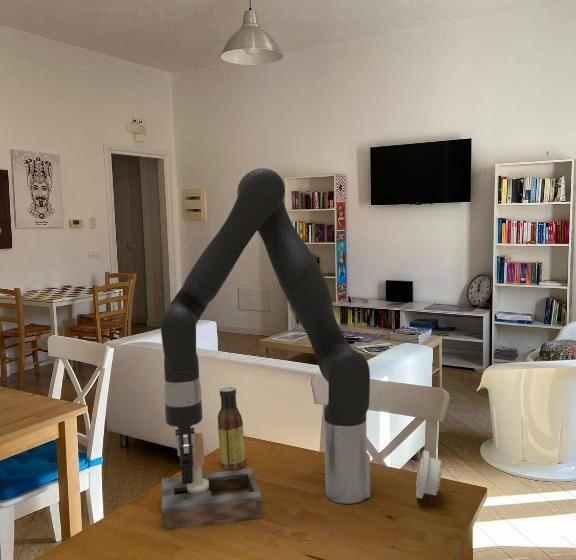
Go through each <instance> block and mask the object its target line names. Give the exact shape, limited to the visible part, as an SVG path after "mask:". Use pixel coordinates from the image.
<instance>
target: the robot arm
mask: <svg viewBox="0 0 576 560" xmlns="http://www.w3.org/2000/svg"><path fill="white" fill-rule="evenodd" d="M236 194H237V197H236V200H235V201H234V202H235V203H234V204H233V207H232V209H231V211H230V213H229V214H228V215H227V218H226V220H225V221H224V222H223V224H222V226H221V228H220V229H218V230H219V231H218V232H216V234H215V236H213V239H211V241H210V242H209V243H208V244H207V246H206V247H205V249H204V250H203V252H202V253H201V254H200V256H199V257H198V258H197V260H196V262H195V264H194V265H193V267H192V269H191V270H190V271H189V273H188V274H187V277H185V280H184V282H183V285H182V286H181V288H180V289H179V291H178V292H177V293H176V295H175V296H174V297H173V299H172V301H171V302H170V304H168V306H167V308H166V309H165V310H164V312H163V314H162V316H161V320H160V335H161V336H160V337H161V342H162V344H161V345H162V351H163V356H164V357H163V358H164V359H163V361H164V362H163V367H164V368H163V370H164V388H163V390H164V391H163V393H164V409H165V410H164V412H165V423H166V424H167V425H168V426H169V427H172V428H176V429H174V430H175V442H176V447H177V456H178V457H179V459H180V463H179V466H180V468H181V469H180V470H181V476H182V483H183V484H191V483H193V471H192V467H193V465H194V462H193V455H194V453H195V451H194V440H195V434H196V432H195V427H192V426H194V425H195V426H196V425H198V424H200V423H201V422H202V421H203V406H202V405H203V404H202V401H203V399H202V387H201V386H202V385H201V380H200V369H199V367H200V365H199V356H198V353H197V324H198V323H199V320H200V319H201V317H202V316H203V314H204V311H205V310H206V309H207V307H208V305H209V304H210V302H213V300H214V299H215V298H216V296H217V294H218V293H219V292H220V290H221V288H222V286H223V285H224V283H225V281H226V280H227V278H228V277H229V275H230V273H231V272H232V270H233V269H234V267H235V265H236V263H237V262H238V260H239V258H240V256H241V255H242V254H243V252H244V251H245V249H246V247H247V245H248V244H249V242H250V241H251V239H252V238H253V237H254V236H255V234H256V233H259V236H260V237H261V238H260V239H261V240H262V242H263V244H264V247H265V250H266V252H267V256H268V259H269V261H270V263H271V266H272V269H273V271H274V274H275V276H276V278H277V281H278V283H279V285H280V287H281V289H282V292H283V293H284V295H285V298H286V300H287V302H288V304H289V305H290V307H291V309H292V311H293V313H294V314H295V316H296V318H297V320H298V322H299V323H300V325H301V327H302V329H303V330H304V332H305V333H306V335H307V338H308V340H309V342H310V345H311V348H312V350H313V353H314V357H315V359H316V362H317V365H318V369H319V370H320V374H321V375H322V377H323V378H324V379H325V381H326V382H327V384H328V403H327V404H326V405H325V407H324V411H323V414H324V415H323V417H324V418H323V422H324V424H323V425H324V469H325V472H324V473H325V479H324V480H325V481H324V482H325V483H324V484H325V486H324V487H325V496H326V497H327V498H328V499H329V500H330V501H332V502H335V503H339V504H348V505H349V504H351V505H352V504H357V503H360V502H362V501H364V500H366V499H368V498H369V499H370V498H371V456H370V454H369V453H368V449H367V447H368V445H367V444H368V443H367V437H368V436H367V413H368V411H369V407H370V393H371V392H370V391H371V390H370V388H371V372H370V366H369V362H368V360H367V359H366V357H365V356H364V355H363V354H362V353H361V352H359V351H357V350H355V349H354V348H353V347H352V346H351V344H350V343H349V341H348V340H347V338H346V337H345V335H344V333H343V331H342V329H341V327H340V325H339V324H338V321H337V319H336V316H335V310H334V306H333V300H332V295H331V290H330V288H329V285H328V283H327V280H326V278H325V276H324V274H323V272H322V269H321V267H320V265H319V264H318V261H317V259H316V258H315V256H314V254H313V253H312V251H311V250H310V249H309V247H308V245H307V244H306V243H305V241H304V240H303V238H302V237H301V236H300V234H299V233H298V232H297V230H296V228H295V227H294V225H293V222H292V220H291V218H290V216H289V213H288V211H287V208H286V206H285V203H284V200H285V196H286V195H285V194H286V186H285V182H284V181H283V178H282V177H281V176H280V174H279V173H278V172H276V171H275V170H272V169H270V168H265V167H262V168H256V169H253V170H251V171H250V170H249V172H247V173H246V174H245V175H244V176H242V178H241V179H240V181H239V183H238V186H237V193H236ZM189 459H190V460H189Z"/></svg>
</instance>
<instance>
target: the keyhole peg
mask: <svg viewBox="0 0 576 560" xmlns="http://www.w3.org/2000/svg"><path fill="white" fill-rule="evenodd" d="M204 450H205V449H204V436H203V432H197V433H196V432H195V440H194V451H195V453H194V455H193V462H194V465H193V467H192V471H193V483H191V484H187V491H188V492H189V493H192V494H199V493H203V492H206V491H207V490H208V489H209V481H208V480H206V479H203V478H202V474H203V467H204V466H205V451H204ZM189 460H190V459H189Z"/></svg>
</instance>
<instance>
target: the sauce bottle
mask: <svg viewBox="0 0 576 560" xmlns="http://www.w3.org/2000/svg"><path fill="white" fill-rule="evenodd" d="M236 395H237V389H236V387H234V386H225V387H221V388H220V389H219V396H220V409H219V411H218V414H217V430H218V431H217V432H218V445H219V446H218V447H219V458H220V459H219V460H220V463H221V464H220V465H221V467H222V469H223V470H226V471H233V470H241V469H242V468H243V467H245V465H246V451H245V450H246V448H245V437H244V436H245V434H244V425H243V424H244V421H243V417H242V414H241V413H240V410H239V409H238V406H237V396H236Z"/></svg>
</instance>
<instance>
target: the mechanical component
mask: <svg viewBox="0 0 576 560" xmlns="http://www.w3.org/2000/svg"><path fill="white" fill-rule="evenodd" d="M441 476H442V460H440V459H437V458H433V457H431V456H430V451H428V450H423V451H422V453H421V457H420V460H419V462H418V467H417V474H416V482H415V483H416V484H415V486H416V487H415V488H416V491H415V496H416V498H417V499H423V497H424V494H427V495H431V496H437V495H438V491H439V488H440V483H441Z"/></svg>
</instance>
